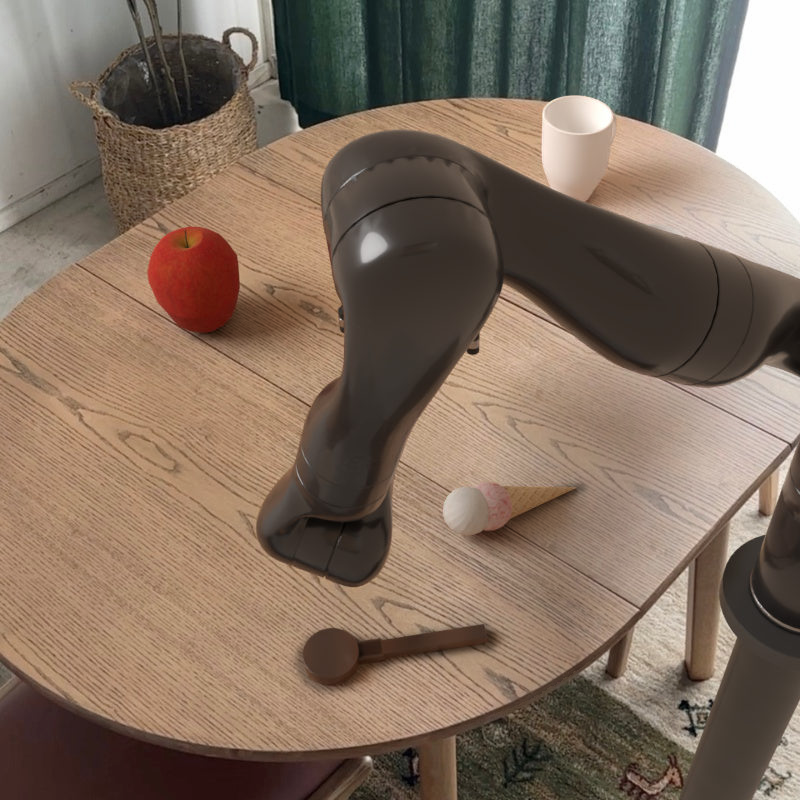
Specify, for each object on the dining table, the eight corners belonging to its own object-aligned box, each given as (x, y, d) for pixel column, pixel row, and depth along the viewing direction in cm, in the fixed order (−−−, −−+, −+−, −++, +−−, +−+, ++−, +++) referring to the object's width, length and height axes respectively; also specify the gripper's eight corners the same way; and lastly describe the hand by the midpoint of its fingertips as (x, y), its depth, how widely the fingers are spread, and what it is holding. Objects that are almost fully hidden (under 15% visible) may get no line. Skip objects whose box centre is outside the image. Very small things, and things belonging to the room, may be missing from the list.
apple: (242, 287, 131) (224, 194, 121) (254, 341, 124) (236, 247, 114) (159, 303, 129) (133, 210, 119) (166, 358, 123) (139, 265, 113)
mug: (574, 221, 137) (582, 141, 128) (523, 193, 142) (528, 114, 133) (631, 183, 142) (643, 103, 134) (581, 157, 147) (588, 78, 138)
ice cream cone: (559, 472, 110) (429, 499, 104) (580, 458, 106) (447, 484, 100) (573, 515, 109) (443, 545, 103) (596, 503, 104) (462, 532, 98)
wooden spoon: (479, 612, 98) (480, 604, 97) (491, 660, 94) (491, 652, 93) (301, 640, 96) (300, 632, 95) (306, 690, 93) (305, 682, 92)
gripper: (465, 367, 89) (507, 245, 100) (304, 340, 92) (363, 224, 103) (464, 427, 94) (505, 305, 106) (313, 400, 98) (368, 284, 109)
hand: (434, 266), depth 105 cm, fingers closed on beverage can, 5 cm apart
